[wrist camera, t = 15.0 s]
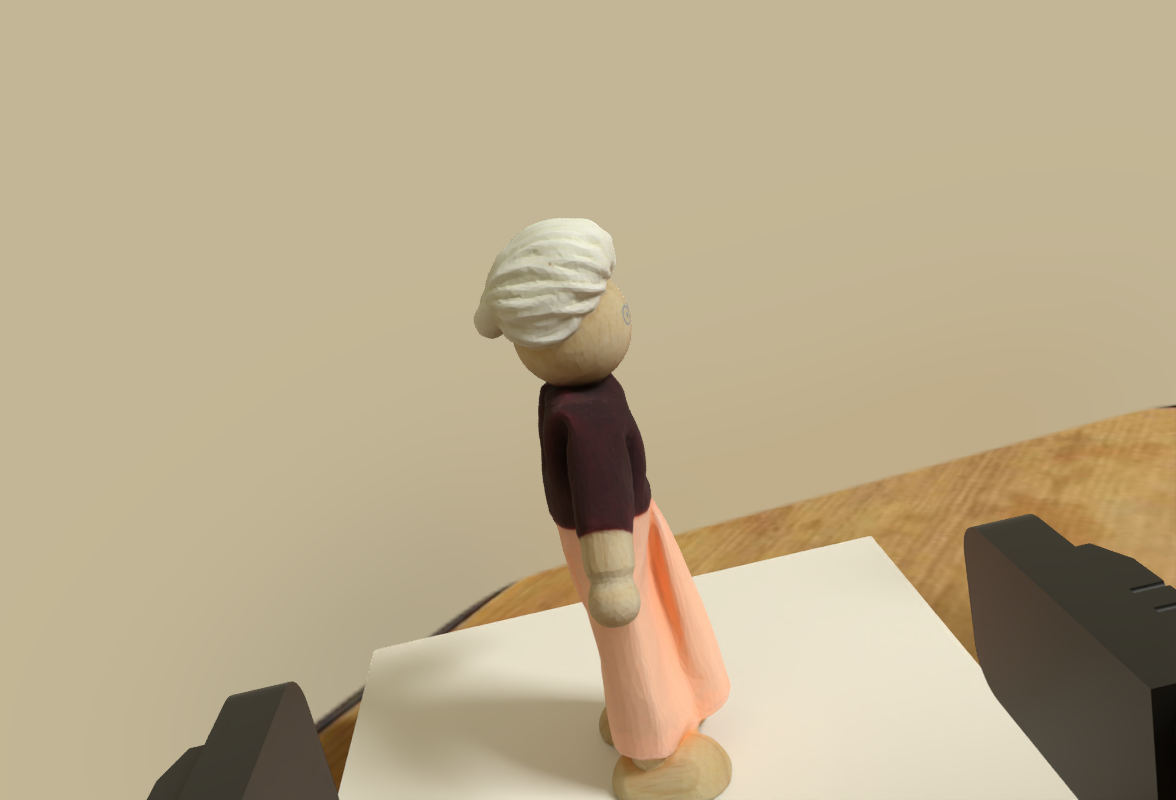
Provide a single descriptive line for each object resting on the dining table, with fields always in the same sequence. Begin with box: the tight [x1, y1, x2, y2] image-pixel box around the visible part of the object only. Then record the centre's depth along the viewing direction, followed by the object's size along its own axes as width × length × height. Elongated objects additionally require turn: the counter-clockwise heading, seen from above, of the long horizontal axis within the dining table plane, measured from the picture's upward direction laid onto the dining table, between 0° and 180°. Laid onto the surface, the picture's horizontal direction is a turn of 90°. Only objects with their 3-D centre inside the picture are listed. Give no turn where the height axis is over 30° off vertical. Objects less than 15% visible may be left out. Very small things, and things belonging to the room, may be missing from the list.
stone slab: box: [338, 536, 1078, 800], centre depth 26 cm, size 16×13×3 cm
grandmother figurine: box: [474, 218, 732, 800], centre depth 23 cm, size 8×4×13 cm, turn 15°
